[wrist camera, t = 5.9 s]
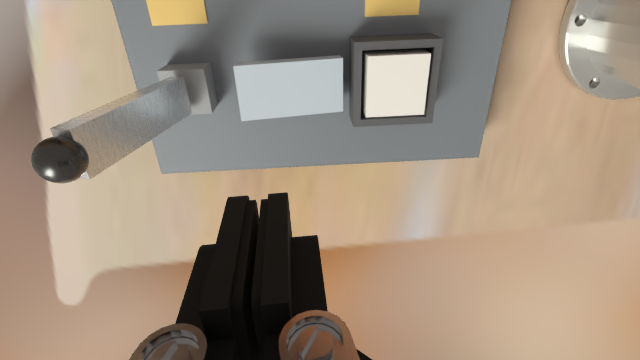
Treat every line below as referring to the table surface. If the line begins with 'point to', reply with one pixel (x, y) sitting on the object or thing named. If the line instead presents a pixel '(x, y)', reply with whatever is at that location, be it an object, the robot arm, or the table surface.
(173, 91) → the toggle lever
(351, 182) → the table surface
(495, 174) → the table surface
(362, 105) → the push button
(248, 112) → the rocker switch
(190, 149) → the switch panel
